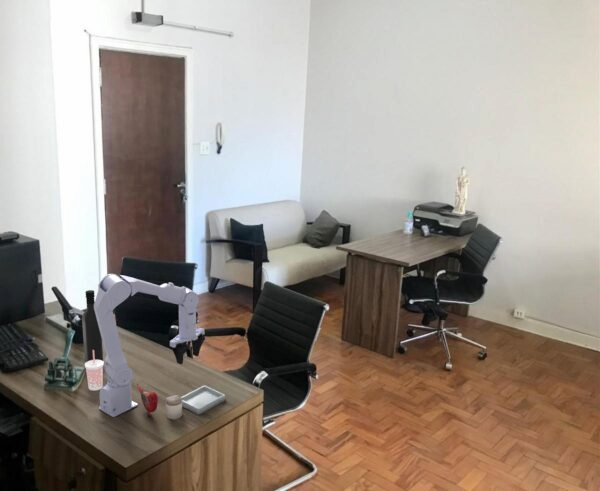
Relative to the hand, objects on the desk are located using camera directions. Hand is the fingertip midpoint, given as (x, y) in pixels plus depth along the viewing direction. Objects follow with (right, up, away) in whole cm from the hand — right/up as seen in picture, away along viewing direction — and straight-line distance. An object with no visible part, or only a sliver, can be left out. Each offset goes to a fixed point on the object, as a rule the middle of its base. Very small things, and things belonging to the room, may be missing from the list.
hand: (187, 359), depth 190 cm
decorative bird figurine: (-10, -14, -14) cm, 23 cm away
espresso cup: (-1, -15, -15) cm, 21 cm away
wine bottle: (-38, -6, +13) cm, 40 cm away
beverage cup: (-32, -10, 0) cm, 33 cm away
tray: (+6, -13, -7) cm, 16 cm away
